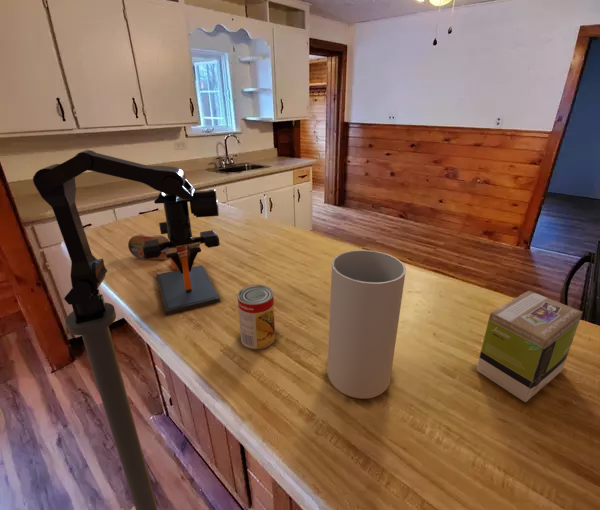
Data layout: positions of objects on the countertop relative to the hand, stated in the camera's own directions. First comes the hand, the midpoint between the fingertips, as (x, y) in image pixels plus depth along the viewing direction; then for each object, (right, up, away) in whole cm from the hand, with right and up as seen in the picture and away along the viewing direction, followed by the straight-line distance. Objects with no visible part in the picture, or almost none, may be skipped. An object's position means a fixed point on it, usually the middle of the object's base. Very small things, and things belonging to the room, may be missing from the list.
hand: (185, 272), depth 92 cm
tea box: (+76, -18, -23) cm, 81 cm away
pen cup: (-8, 0, +20) cm, 22 cm away
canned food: (+21, -14, -13) cm, 29 cm away
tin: (-21, +2, +26) cm, 33 cm away
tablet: (-2, -6, +7) cm, 9 cm away
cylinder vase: (+43, -19, -24) cm, 52 cm away
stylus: (0, -6, +2) cm, 6 cm away
